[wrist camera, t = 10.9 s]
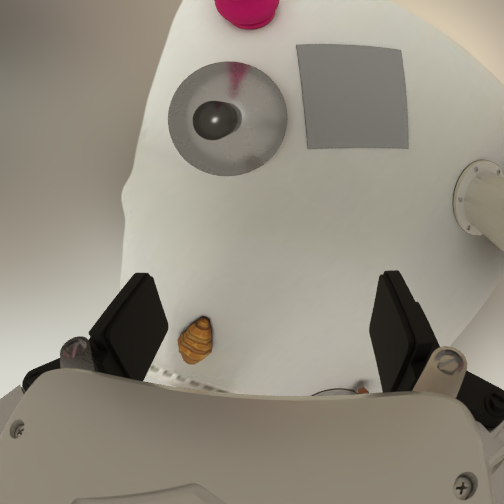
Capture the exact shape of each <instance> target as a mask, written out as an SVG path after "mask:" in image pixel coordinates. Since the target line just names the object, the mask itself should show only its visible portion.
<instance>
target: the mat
mask: <svg viewBox="0 0 504 504" xmlns="http://www.w3.org/2000/svg"><path fill="white" fill-rule="evenodd" d="M296 47H297V54H298V61H299V68H300V76H301V84H302V93H303V102H304V111H305V122H306V132H307V144H308V149H321V148H402V149H408V114H407V98H406V86H405V77H404V68H403V60H402V53H401V50H397V49H389V48H381V47H371V46H358V45H336V44H306V45H296Z"/></svg>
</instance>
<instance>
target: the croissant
mask: <svg viewBox="0 0 504 504" xmlns="http://www.w3.org/2000/svg"><path fill="white" fill-rule="evenodd" d="M211 339H212V333H211V327H210V322H209V319H208V318H206V317H201V318H200V319H199V320H197V321H196V322H195V323H193V324H192V325H191V326H189V327H188V328H187V330H186V332H184V333H182V334H181V336H180V337H179V338H178V346H179V352H180V353H181V355H182V357H183V360H184V361H185V362H186V363H188V364H196V363H198V362H199V361H201V360H203V359H204V358H205V357H206V356H207V355H209V354H210V353H211V352H212V343H211Z"/></svg>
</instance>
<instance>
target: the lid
mask: <svg viewBox="0 0 504 504" xmlns="http://www.w3.org/2000/svg"><path fill="white" fill-rule="evenodd" d="M168 125H169V132H170V136H171V138H172V141H173V143H174V145H175V147H176V149H177V150H178V152H179V153H180V155H181V156H182V157H183V158H184V159H185V160H186V161H187V162H189V163H190V164H191V165H192V166H194V167H196V168H197V169H199V170H201V171H203V172H206V173H209V174H213V175H218V176H235V175H241V174H244V173H248V172H250V171H252V170H255V169H256V168H258V167H260V166H261V165H263V164H264V163H265V162H267V161H268V160H269V159H270V158H271V157H272V156H273V155H274V153H275V152H276V151H277V149H278V148H279V146H280V144H281V142H282V140H283V138H284V135H285V131H286V126H287V110H286V104H285V101H284V98H283V96H282V94H281V92H280V90H279V88H278V87H277V85H276V84H275V83H274V82H273V81H272V80H271V78H270V77H268V76H267V75H266V74H265V73H263V72H262V71H260V70H259V69H257V68H255V67H252V66H250V65H247V64H244V63H239V62H218V63H214V64H210V65H207V66H205V67H202V68H200V69H198V70H197V71H195V72H194V73H192V74H191V75H189V76H188V77H187V78H186V79H185V80H184V81H183V82H182V84H181V85H180V86H179V87H178V89H177V91H176V92H175V94H174V96H173V98H172V101H171V104H170V108H169V113H168Z"/></svg>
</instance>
